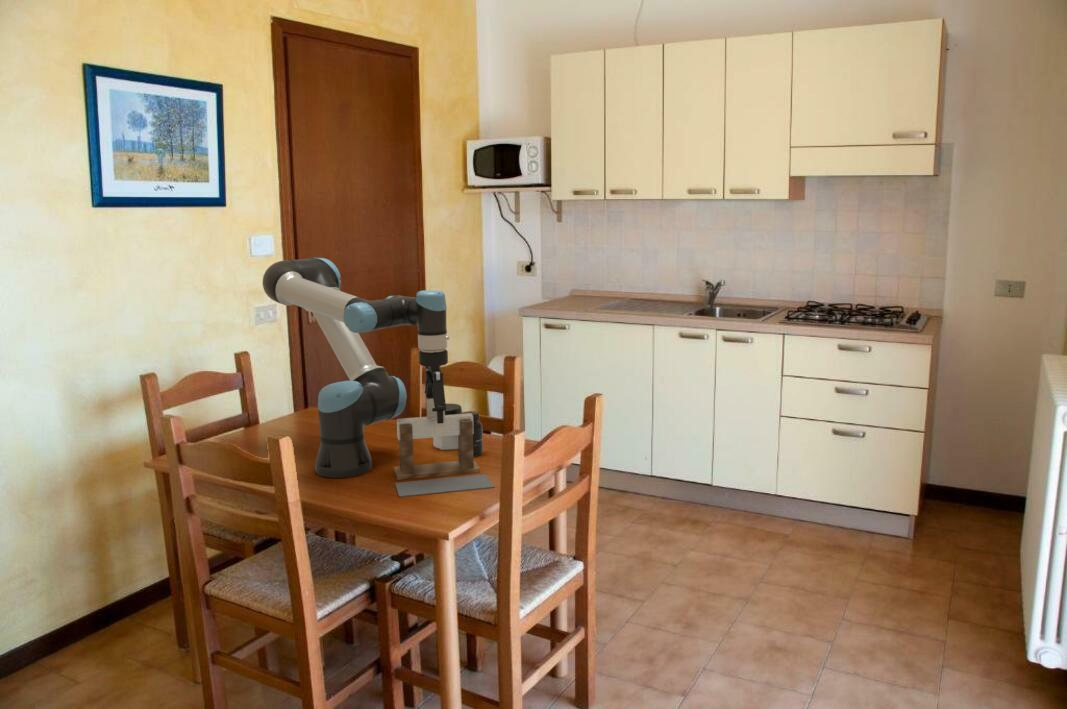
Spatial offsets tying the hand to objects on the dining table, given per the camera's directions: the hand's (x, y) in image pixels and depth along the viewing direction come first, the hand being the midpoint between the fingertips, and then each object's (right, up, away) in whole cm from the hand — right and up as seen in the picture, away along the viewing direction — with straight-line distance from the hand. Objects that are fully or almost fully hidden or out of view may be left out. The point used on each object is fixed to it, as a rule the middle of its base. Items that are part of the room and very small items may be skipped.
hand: (436, 428), depth 225 cm
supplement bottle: (+8, -9, +18) cm, 22 cm away
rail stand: (0, -12, +2) cm, 12 cm away
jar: (+1, -8, +25) cm, 26 cm away
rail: (0, -2, +1) cm, 2 cm away
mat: (+3, -14, -9) cm, 17 cm away
